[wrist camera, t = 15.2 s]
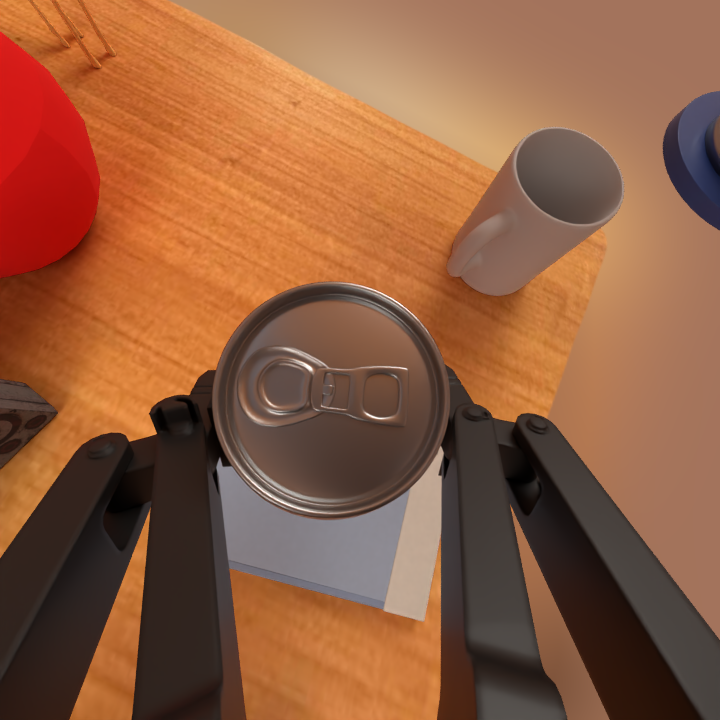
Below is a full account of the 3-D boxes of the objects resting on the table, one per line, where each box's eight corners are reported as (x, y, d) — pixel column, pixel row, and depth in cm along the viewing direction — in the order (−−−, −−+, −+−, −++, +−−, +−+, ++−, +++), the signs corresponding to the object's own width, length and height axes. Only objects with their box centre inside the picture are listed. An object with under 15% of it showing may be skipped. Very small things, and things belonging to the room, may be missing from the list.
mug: (497, 209, 34) (574, 108, 24) (546, 272, 33) (650, 196, 23) (406, 258, 32) (447, 171, 21) (456, 329, 31) (525, 273, 20)
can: (281, 359, 20) (219, 250, 8) (385, 369, 20) (468, 281, 9) (266, 470, 18) (161, 532, 7) (379, 478, 19) (468, 549, 7)
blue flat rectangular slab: (459, 412, 29) (465, 411, 28) (419, 613, 25) (424, 622, 24) (243, 348, 28) (239, 344, 27) (167, 545, 24) (158, 551, 23)
